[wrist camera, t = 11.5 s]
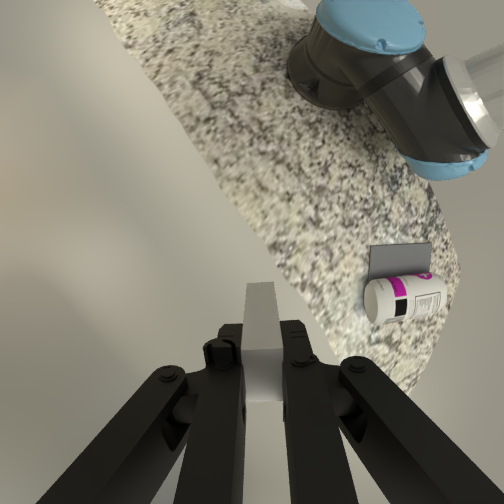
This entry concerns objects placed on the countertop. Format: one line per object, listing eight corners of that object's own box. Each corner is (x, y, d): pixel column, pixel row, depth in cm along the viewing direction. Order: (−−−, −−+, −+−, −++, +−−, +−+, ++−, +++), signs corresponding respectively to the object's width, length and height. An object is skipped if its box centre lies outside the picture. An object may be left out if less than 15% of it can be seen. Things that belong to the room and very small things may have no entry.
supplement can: (375, 276, 43) (444, 267, 43) (360, 284, 51) (424, 275, 51) (381, 325, 41) (451, 311, 41) (365, 326, 49) (429, 314, 49)
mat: (370, 245, 48) (371, 246, 48) (430, 242, 48) (432, 243, 47) (365, 310, 52) (365, 311, 51) (422, 302, 51) (423, 303, 51)
